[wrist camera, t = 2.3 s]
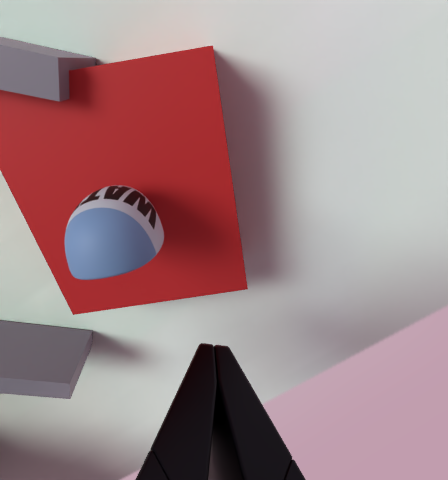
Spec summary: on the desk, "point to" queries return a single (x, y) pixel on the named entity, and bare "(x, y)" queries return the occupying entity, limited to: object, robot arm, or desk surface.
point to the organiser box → (23, 334)
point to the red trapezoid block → (128, 182)
